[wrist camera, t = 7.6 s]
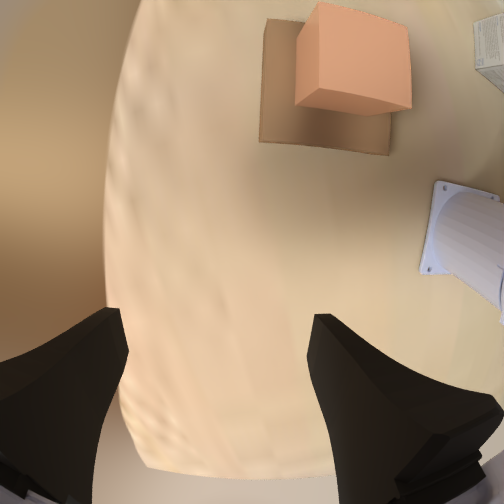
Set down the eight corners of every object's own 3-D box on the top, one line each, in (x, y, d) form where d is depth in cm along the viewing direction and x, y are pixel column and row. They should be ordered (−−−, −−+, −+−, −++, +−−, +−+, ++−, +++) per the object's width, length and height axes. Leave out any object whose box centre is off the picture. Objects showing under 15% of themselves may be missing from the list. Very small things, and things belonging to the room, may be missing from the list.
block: (366, 52, 13) (407, 27, 8) (366, 116, 15) (411, 108, 10) (296, 38, 13) (318, 1, 8) (294, 105, 14) (319, 87, 10)
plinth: (373, 52, 15) (389, 43, 13) (371, 154, 18) (388, 155, 16) (263, 33, 15) (267, 18, 12) (258, 142, 17) (262, 140, 15)
